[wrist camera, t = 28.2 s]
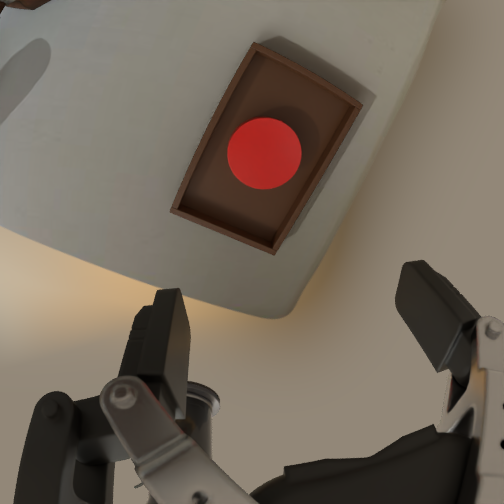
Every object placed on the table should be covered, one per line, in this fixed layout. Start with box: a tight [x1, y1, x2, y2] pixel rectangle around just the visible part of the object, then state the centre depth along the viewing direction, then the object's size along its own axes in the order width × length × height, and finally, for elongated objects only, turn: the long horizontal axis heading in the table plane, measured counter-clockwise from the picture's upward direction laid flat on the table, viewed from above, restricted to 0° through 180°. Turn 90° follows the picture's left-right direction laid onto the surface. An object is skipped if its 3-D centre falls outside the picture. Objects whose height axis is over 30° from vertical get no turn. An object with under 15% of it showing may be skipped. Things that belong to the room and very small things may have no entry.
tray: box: [170, 42, 363, 255], centre depth 26 cm, size 17×11×2 cm, turn 153°
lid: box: [227, 117, 302, 189], centre depth 25 cm, size 6×6×2 cm
